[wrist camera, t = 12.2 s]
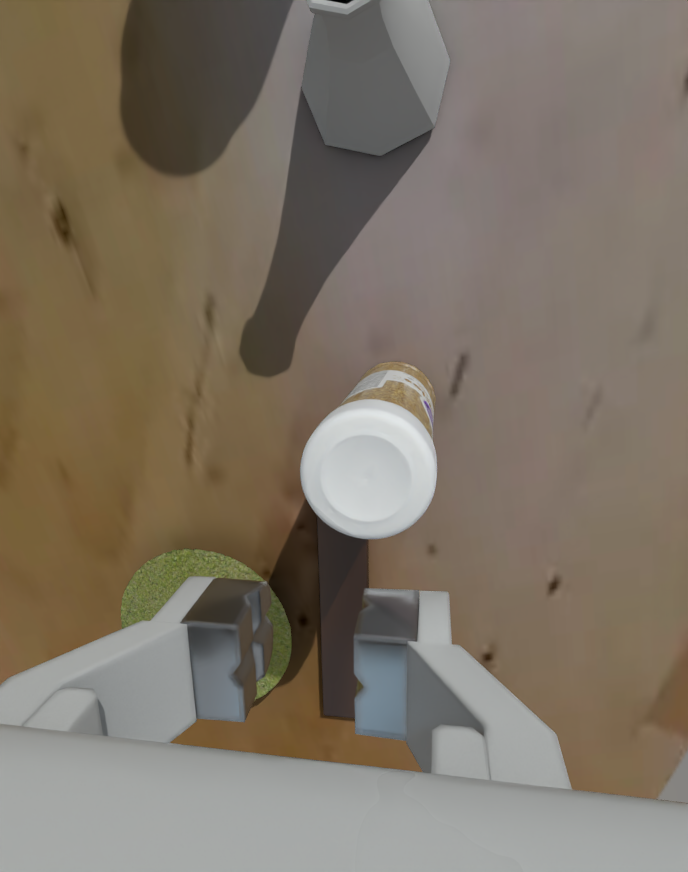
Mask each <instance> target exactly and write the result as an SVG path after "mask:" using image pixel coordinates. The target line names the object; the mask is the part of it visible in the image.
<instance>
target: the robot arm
mask: <svg viewBox="0 0 688 872" xmlns="http://www.w3.org/2000/svg"><path fill="white" fill-rule="evenodd" d="M362 601H363V610H362V611H360V612H359V614H358V619H357V624H356V628H355V633H354V674H355V676H356V677H357V678H358V682H357V688H356V693H355V699H354V701H355V734H360V735H367V736H375V737H382V738H390V739H397V740H404V741H406V743H407V745H408V747H409V749H410V750H411V752H412V754H413V756H414V757H415V759H416V761H417V762H418V764H419V766H420V768H421V769H422V771H423V772H415V771H406V770H398V769H389V768H380V767H371V766H363V765H354V764H345V763H337V762H328V761H319V760H311V759H302V758H293V757H284V756H276V755H267V754H258V753H250V752H241V751H232V750H224V749H215V748H206V747H198V746H189V745H180V744H172V743H170V742H171V741H172V740H173V739H175V738H176V737H177V736H178V735H180V734H181V733H182V732H184V731H185V730H186V729H187V728H189V727H190V726H191V725H192V724H194V723H195V722H196V721H197V720H196V718H198V719H211V720H224V721H238V722H245V720H246V718H247V716H248V713H249V711H250V709H251V707H252V704H253V702H254V700H255V698H256V695H257V684H256V682H257V681H259V680H260V679H262V678H263V677H265V675H266V672H267V670H268V668H269V665H270V660H271V656H272V651H273V637H274V636H273V624H272V623H271V621H270V620H269V619H268V617H267V616H266V614H267V612H268V610H269V608H270V606H271V604H272V601H271V590H270V586H269V584H268V582H265V581H253V580H241V579H230V578H216V577H207V576H191V577H188V578H187V579H186V580H185V582H184V583H183V584H182V585H181V586H180V587H179V588H178V590H177V591H176V592H175V593H174V594H173V595H172V596H171V598H170V599H169V600H168V601H167V602H166V603H165V605H164V606H163V607H162V608H161V609H160V610H159V611H158V613H157V614H156V615H155V616H154V617H153V618H152V619H151V621H144V620H142V621H140V622H137V623H135V624H133V625H130V626H128V627H126V628H123V629H121V630H119V631H116V632H114V633H112V634H109V635H107V636H105V637H102V638H100V639H98V640H95V641H93V642H91V643H88V644H86V645H84V646H82V647H79V648H77V649H75V650H72V651H70V652H68V653H65V654H63V655H61V656H58V657H56V658H54V659H51V660H49V661H47V662H44V663H42V664H40V665H37V666H35V667H33V668H30V669H28V670H26V671H23V672H21V673H19V674H16V675H14V676H12V677H9V678H8V679H6V680H5V681H4V682H3V683H2V684H1V685H0V872H688V803H683V802H674V801H667V800H658V799H649V798H641V797H632V796H623V795H615V794H606V793H598V792H589V791H580V790H572V788H571V785H570V781H569V778H568V774H567V770H566V767H565V763H564V760H563V756H562V753H561V749H560V745H559V742H558V738H557V735H556V733H555V732H554V731H552V730H551V729H550V728H549V727H548V726H547V725H546V724H545V723H544V722H543V721H542V720H541V719H539V718H538V717H537V716H536V715H535V714H534V713H533V712H532V711H531V710H530V709H529V708H527V707H526V706H525V705H524V704H523V703H522V702H521V701H520V700H519V699H518V698H517V697H516V696H514V695H513V694H512V693H511V692H510V691H509V690H508V689H507V688H506V687H505V686H504V685H502V684H501V683H500V682H499V681H498V680H497V679H496V678H495V677H494V676H493V675H492V674H491V673H489V672H488V671H487V670H486V669H485V668H484V667H483V666H482V665H481V664H480V663H479V662H478V661H476V660H475V659H474V658H473V657H472V656H471V655H470V654H469V653H468V652H467V651H466V650H464V649H463V648H462V647H461V646H460V645H452V640H451V622H450V604H449V593H448V592H447V591H420V599H419V590H395V589H370V588H365V589H364V593H363V597H362Z"/></svg>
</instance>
